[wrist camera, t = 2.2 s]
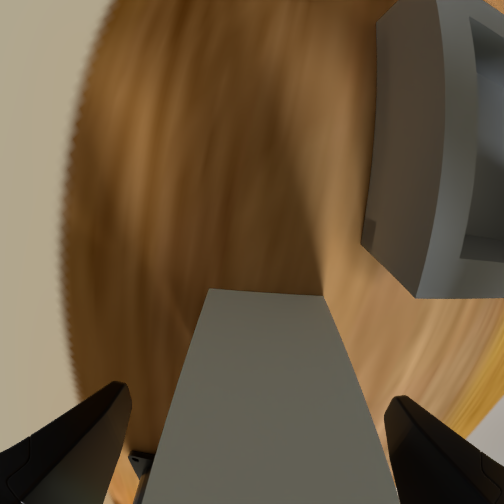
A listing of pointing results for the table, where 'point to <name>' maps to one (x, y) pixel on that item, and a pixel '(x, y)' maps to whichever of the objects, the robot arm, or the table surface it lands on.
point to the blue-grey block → (268, 411)
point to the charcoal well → (439, 149)
